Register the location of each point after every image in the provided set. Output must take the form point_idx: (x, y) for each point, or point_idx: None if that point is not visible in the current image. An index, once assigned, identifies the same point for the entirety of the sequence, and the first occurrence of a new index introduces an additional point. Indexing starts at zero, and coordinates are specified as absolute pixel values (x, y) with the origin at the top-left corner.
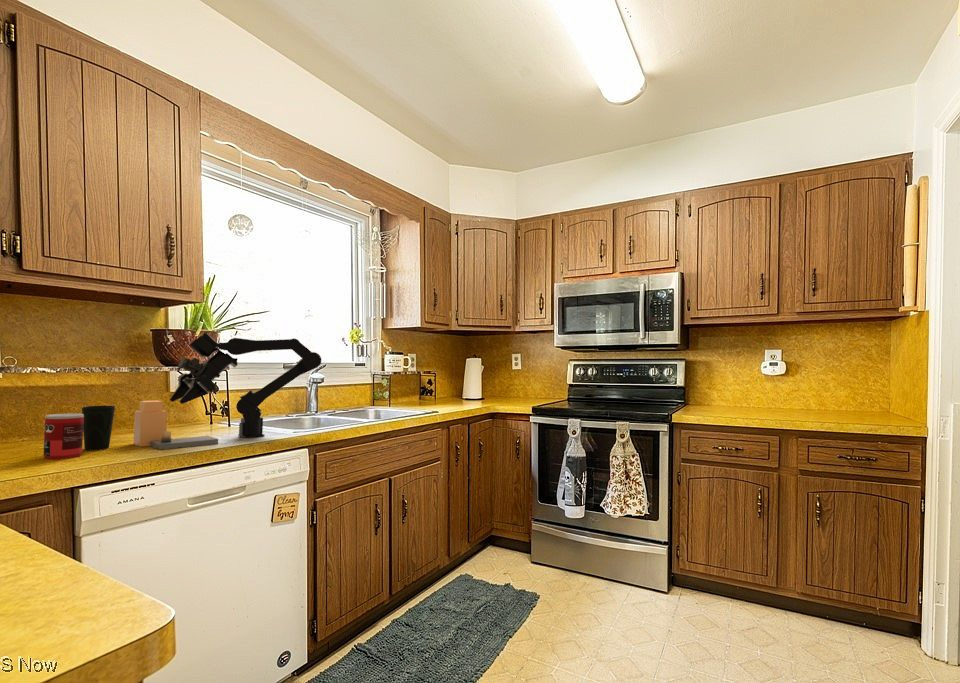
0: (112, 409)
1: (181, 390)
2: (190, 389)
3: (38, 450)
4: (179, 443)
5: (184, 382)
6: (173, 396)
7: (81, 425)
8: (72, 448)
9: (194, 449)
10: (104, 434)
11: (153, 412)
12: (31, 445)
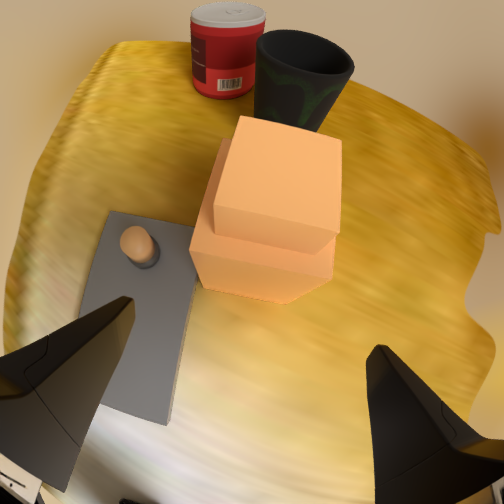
0: (266, 64)
1: (413, 449)
2: (13, 354)
3: (338, 96)
4: (92, 266)
5: (466, 497)
6: (388, 372)
7: (196, 40)
8: (192, 70)
9: (49, 280)
10: (254, 114)
11: (208, 183)
12: (406, 122)
